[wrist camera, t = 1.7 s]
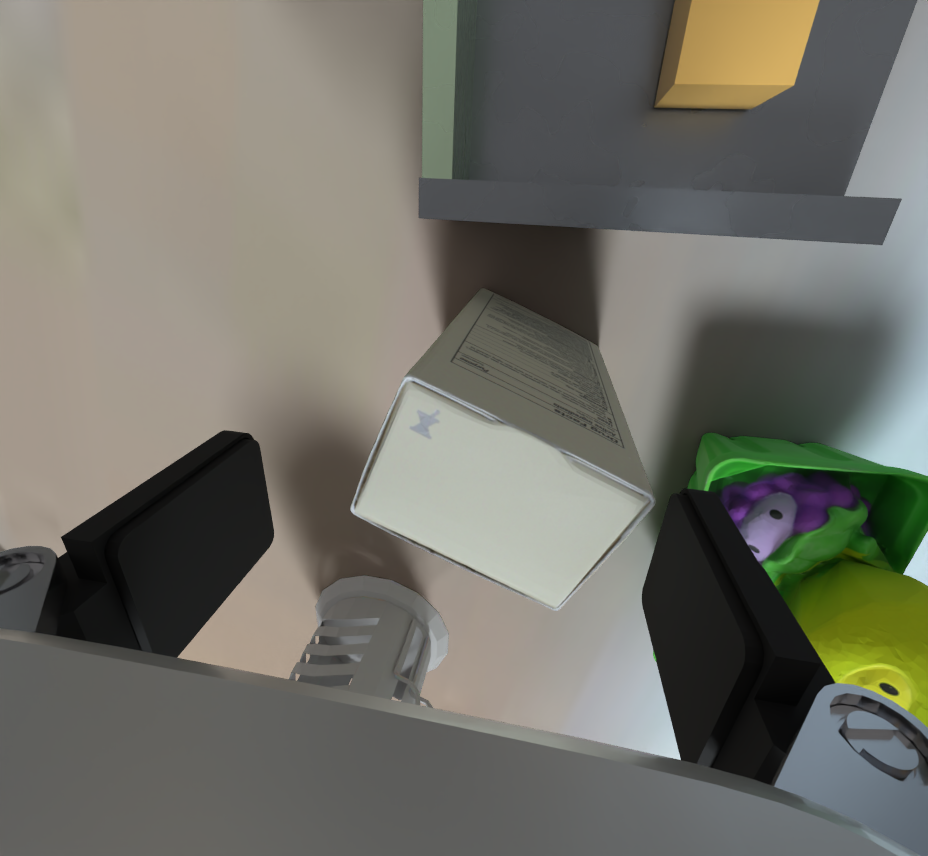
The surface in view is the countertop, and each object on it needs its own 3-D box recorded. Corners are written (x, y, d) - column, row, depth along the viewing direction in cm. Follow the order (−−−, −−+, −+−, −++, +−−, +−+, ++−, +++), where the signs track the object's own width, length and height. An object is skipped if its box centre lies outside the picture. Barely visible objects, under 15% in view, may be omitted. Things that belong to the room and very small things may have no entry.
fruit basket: (680, 403, 21) (793, 579, 11) (898, 422, 19) (1265, 647, 9) (633, 587, 26) (680, 825, 16) (804, 613, 24) (976, 894, 14)
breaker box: (990, -280, 12) (1215, -539, 8) (806, 238, 17) (882, 244, 13) (461, -229, 14) (421, -411, 10) (448, 217, 19) (418, 218, 15)
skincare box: (444, 365, 22) (331, 510, 11) (482, 283, 20) (390, 362, 9) (559, 424, 22) (558, 624, 11) (608, 349, 20) (664, 503, 9)
